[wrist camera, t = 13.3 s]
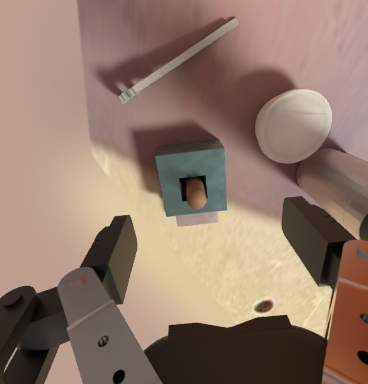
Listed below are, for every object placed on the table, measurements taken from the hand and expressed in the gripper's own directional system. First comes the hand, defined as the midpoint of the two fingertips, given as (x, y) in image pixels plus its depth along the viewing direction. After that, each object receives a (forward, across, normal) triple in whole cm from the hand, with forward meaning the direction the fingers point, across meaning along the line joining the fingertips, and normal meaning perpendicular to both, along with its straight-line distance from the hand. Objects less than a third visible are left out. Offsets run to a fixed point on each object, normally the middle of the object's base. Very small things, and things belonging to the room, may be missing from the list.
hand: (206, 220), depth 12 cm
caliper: (+31, +1, -9) cm, 32 cm away
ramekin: (+30, -16, +2) cm, 34 cm away
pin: (+30, 0, +10) cm, 32 cm away
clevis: (+30, +1, +11) cm, 32 cm away
